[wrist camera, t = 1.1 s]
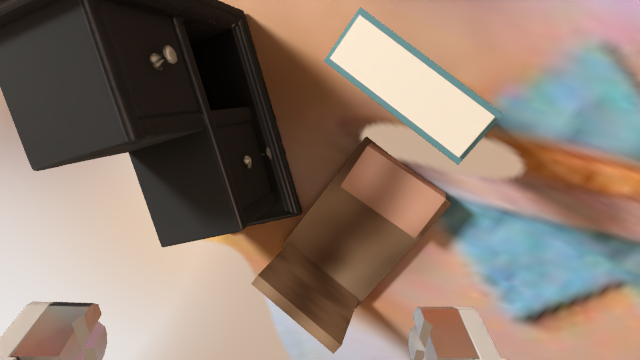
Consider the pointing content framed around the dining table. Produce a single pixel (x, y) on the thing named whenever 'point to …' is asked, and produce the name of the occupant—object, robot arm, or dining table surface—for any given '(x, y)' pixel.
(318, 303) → the shelf
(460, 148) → the book
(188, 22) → the black drawer cabinet
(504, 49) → the dining table surface
